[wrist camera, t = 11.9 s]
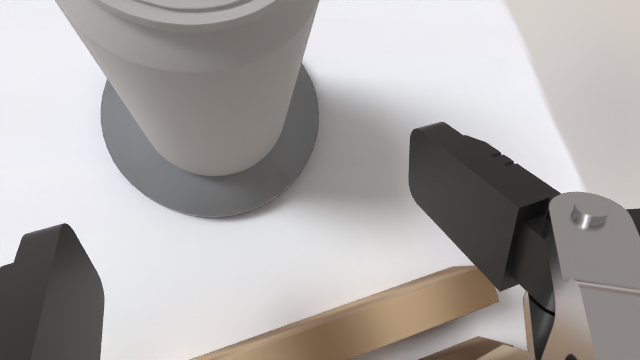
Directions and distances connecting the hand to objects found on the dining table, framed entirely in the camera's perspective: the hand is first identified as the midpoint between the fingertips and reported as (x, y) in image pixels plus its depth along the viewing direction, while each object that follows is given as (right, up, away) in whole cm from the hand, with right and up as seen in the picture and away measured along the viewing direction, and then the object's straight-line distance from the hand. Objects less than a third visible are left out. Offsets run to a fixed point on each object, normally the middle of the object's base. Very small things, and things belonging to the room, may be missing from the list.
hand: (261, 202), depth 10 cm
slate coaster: (-4, +4, +11) cm, 12 cm away
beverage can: (-4, +4, +10) cm, 11 cm away
